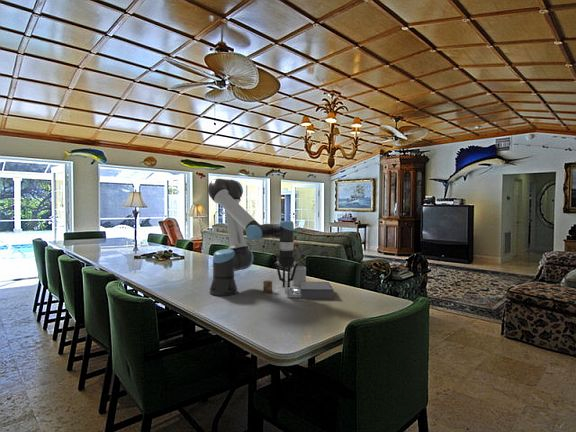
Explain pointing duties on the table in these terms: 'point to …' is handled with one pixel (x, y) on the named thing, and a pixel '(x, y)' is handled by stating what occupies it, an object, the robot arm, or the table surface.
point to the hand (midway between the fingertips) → (286, 293)
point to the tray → (293, 293)
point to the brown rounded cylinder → (267, 286)
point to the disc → (296, 290)
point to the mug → (298, 275)
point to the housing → (316, 290)
